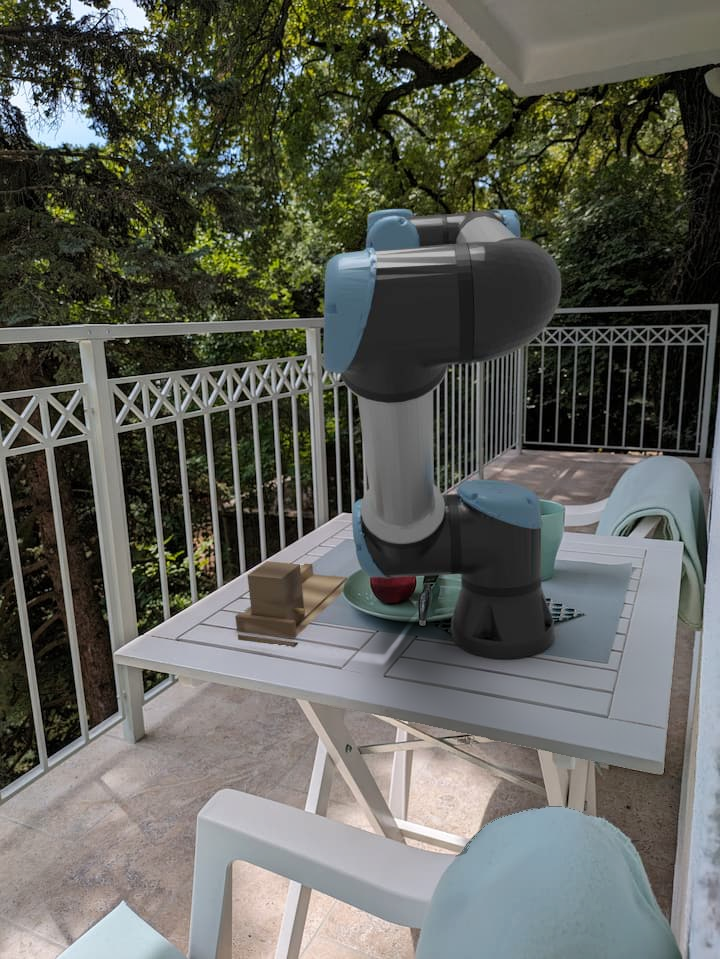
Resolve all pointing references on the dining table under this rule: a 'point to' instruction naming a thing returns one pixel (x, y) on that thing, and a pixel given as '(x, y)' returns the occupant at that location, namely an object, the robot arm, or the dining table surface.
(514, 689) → the dining table surface
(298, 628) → the brown wooden tray
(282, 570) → the brown wooden block
